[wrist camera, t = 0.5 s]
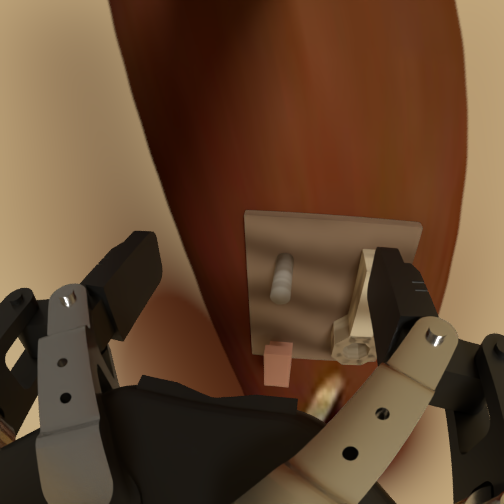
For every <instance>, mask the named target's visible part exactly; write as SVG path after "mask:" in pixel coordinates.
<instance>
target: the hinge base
mask: <svg viewBox="0 0 504 504" xmlns="http://www.w3.org/2000/svg"><path fill="white" fill-rule="evenodd" d="M244 223H245V241H246V258H247V276H248V293H249V310H250V326H251V343H252V354H255V355H264V350H265V345H270V341H277V342H289V343H293V348H292V358H300V359H315V360H334V361H337V360H336V359H334V358H333V357H331V332H332V328H333V323H334V321H336V320H338V319H340V318H342V317H344V316H345V315H347V314H348V312H349V308H350V304H351V300H352V296H353V292H354V287H355V283H356V278H357V274H358V269H359V264H360V259H361V254H362V249H371V250H376V248H377V247H389V248H398V249H399V251H400V254H401V256H402V259H403V261H404V263H411V264H412V263H413V260H414V256H415V253H416V250H417V246H418V243H419V239H420V236H421V232H422V229H423V227H422V225H421V223H420V222H411V221H400V220H389V219H378V218H366V217H353V216H340V215H326V214H311V213H294V212H276V211H256V210H246V211H245V214H244ZM375 361H376V358H375V359H372V360H370V361H368V362H375Z"/></svg>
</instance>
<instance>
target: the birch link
mask: <svg viewBox="0 0 504 504" xmlns="http://www.w3.org/2000/svg"><path fill="white" fill-rule="evenodd" d="M374 254H375V250H371V249H362V254H361V259H360V264H359V269H358V274H357V278H356V283H355V287H354V292H353V296H352V300H351V304H350V308H349V312H348V314H347V315H345V316H344V317H342V318H340V319H338V320H336V321H334V323H333V328H332V332H331V357H333V358H334V359H336V360H337V361H338V362H340V363H341V364H342V365H343V364H344V365H362V364H364V363H366V362H368V361H370V360H372V359H375V358H377V355H376V348H375V342H374V336H373V329H372V324H371V318H370V312H369V307H368V301H367V288H368V282H369V277H370V273H371V268H372V264H373V259H374Z"/></svg>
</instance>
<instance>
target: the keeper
mask: <svg viewBox="0 0 504 504" xmlns="http://www.w3.org/2000/svg"><path fill="white" fill-rule="evenodd" d="M292 348H293V343H289V342H277V341H270V345H265V350H264V385H269V386H280V387H288V385H289V376H290V367H291V358H292Z"/></svg>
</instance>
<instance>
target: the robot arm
mask: <svg viewBox="0 0 504 504" xmlns="http://www.w3.org/2000/svg"><path fill="white" fill-rule="evenodd" d="M161 278H162V263H161V258H160V253H159V248H158V242H157V237H156V235H155V233H154V232H151V231H134V232H133V233H132V234H131V235H130V236H129V237H128V238H127V239H126V240H125V241H124V242H123V243H121V244H119V245H117V246H116V247H114V248H112V249H111V250H110V251H109V252H108V253H107V254H106V256H105V257H104V258H103V259H102V260H101V261H100V262H99V264H98V265H96V266H95V268H93V270H92V271H91V272H90V273H89V274H88V275H87V276H86V277H85V279H84V280H83V281H82V282H81V283H80V284H68V285H65V286H63V287H61V288H59V289H58V290H56V291H55V292H54V293H53V294H52V295H51V297H50V299H47V300H36V298H35V296H34V294H33V292H32V290H31V289H29V288H20V289H17V290H15V291H13V292H12V293H10V294H9V295H8V296H7V297H6V298H5V299H4V300H3V301H2V302H1V303H0V504H396V503H395V501H394V500H393V499H392V498H391V497H390V496H389V495H388V493H386V491H385V490H384V489H383V488H382V487H381V485H380V484H379V483H378V482H377V480H378V478H379V477H380V476H381V474H382V473H383V472H384V471H385V469H386V468H387V467H388V465H389V464H390V462H391V461H392V459H393V458H394V457H395V455H396V454H397V453H398V451H399V450H400V448H401V447H402V445H403V444H404V442H405V441H406V440H407V438H408V436H409V435H410V433H411V432H412V430H413V429H414V427H415V426H416V424H417V422H418V421H419V419H420V417H421V416H422V414H423V412H424V411H425V409H426V407H427V406H428V405H432V406H436V407H440V408H444V409H445V412H446V418H447V426H448V432H449V442H450V451H451V462H452V476H453V500H454V504H504V336H503V335H500V334H489V335H488V336H486V337H485V339H484V340H483V342H482V344H481V345H479V344H475V343H471V342H467V341H463V340H460V339H458V334H457V332H456V330H455V329H454V327H453V326H452V325H451V324H450V323H448V322H447V321H445V320H443V319H441V318H439V317H438V314H437V312H436V309H435V307H434V304H433V302H432V299H431V297H430V295H429V292H427V288H426V285H425V284H424V281H423V278H422V276H421V274H420V272H419V271H418V270H417V269H416V268H415V267H414V266H413V265H412V264H411V263H404V261H403V259H402V256H401V254H400V251H399V249H398V248H389V247H377V248H376V250H375V254H374V259H373V264H372V268H371V273H370V277H369V282H368V288H367V301H368V307H369V312H370V318H371V324H372V329H373V336H374V342H375V348H376V355H377V362H378V367H377V368H376V370H375V371H374V372H373V373H372V374H371V376H370V377H369V378H368V379H367V381H366V382H365V383H364V384H363V385H362V386H361V388H360V389H359V390H358V391H357V392H356V393H355V394H354V396H353V397H352V398H351V399H350V400H349V401H348V402H347V403H346V405H345V406H344V407H343V408H342V409H341V410H340V411H339V412H338V413H337V414H336V415H335V416H334V418H333V419H332V420H331V421H330V422H329V423H328V424H325V423H324V422H323V421H321V420H319V419H317V418H316V417H314V416H312V415H309V414H307V413H305V412H302V411H298V410H297V401H298V399H295V398H283V397H273V396H263V395H249V396H237V397H221V398H214V397H210V396H207V395H205V394H202V393H200V392H197V391H195V390H193V389H191V388H188V387H186V386H184V385H182V384H180V383H177V382H173V381H168V380H164V379H159V378H154V377H150V376H146V375H142V377H141V379H140V381H139V383H138V385H131V386H124V387H120V386H119V383H118V379H117V375H116V371H115V367H114V363H113V358H112V354H111V350H110V347H109V345H108V343H109V341H110V339H115V340H118V341H124V340H125V338H126V336H127V335H128V333H129V331H130V330H131V328H132V326H133V325H134V323H135V321H136V320H137V318H138V316H139V315H140V313H141V312H142V310H143V308H144V307H145V305H146V304H147V302H148V300H149V299H150V297H151V296H152V294H153V292H154V291H155V289H156V288H157V286H158V285H159V283H160V281H161ZM17 337H18V338H19V339H20V341H21V343H22V344H23V346H24V348H25V350H24V352H23V353H22V355H21V356H20V358H19V359H18V360H17V362H16V364H15V365H14V367H13V368H12V370H11V371H10V370H9V369H8V368H7V366H6V363H5V356H6V353H7V351H8V350H9V348H10V347H11V345H12V344H13V343H14V341H15V340H16V339H17ZM37 396H38V401H39V417H40V428H39V429H37V430H35V431H33V432H31V433H29V434H27V435H25V436H24V437H21V438H19V439H17V440H15V437H16V435H17V433H18V431H19V429H20V427H21V426H22V423H23V422H24V420H25V418H26V416H27V414H28V412H29V410H30V408H31V406H32V405H33V403H34V401H35V399H36V397H37ZM487 407H488V408H487ZM488 412H489V413H488ZM489 416H490V417H489Z"/></svg>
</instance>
